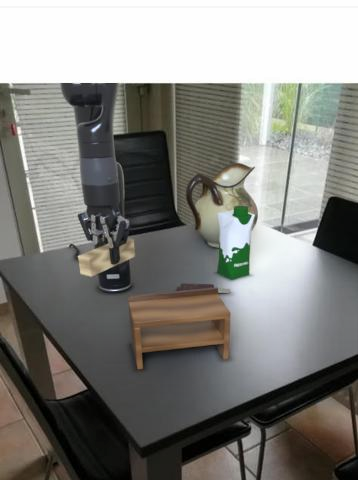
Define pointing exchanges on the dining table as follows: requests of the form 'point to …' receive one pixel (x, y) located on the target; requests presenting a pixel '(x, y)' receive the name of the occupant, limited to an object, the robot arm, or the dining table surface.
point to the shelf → (178, 321)
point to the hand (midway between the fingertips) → (108, 261)
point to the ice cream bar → (200, 287)
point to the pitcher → (219, 199)
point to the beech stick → (103, 258)
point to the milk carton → (235, 242)
